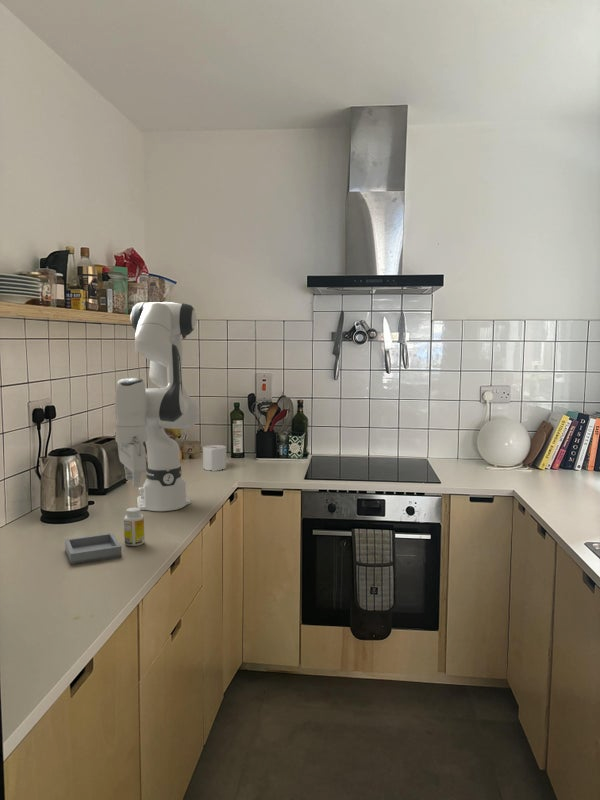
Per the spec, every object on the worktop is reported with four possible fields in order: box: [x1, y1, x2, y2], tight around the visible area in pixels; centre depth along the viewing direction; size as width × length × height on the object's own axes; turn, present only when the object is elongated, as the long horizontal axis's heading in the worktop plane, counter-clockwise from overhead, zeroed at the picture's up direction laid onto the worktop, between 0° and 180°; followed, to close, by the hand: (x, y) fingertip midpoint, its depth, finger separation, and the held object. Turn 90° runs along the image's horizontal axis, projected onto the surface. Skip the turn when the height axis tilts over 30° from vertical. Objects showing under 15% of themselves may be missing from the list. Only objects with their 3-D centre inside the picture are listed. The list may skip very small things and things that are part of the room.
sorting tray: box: [64, 532, 123, 566], centre depth 167 cm, size 13×13×3 cm
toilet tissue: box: [202, 444, 227, 472], centre depth 277 cm, size 11×12×10 cm
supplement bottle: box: [123, 507, 145, 547], centre depth 175 cm, size 6×6×10 cm
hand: (132, 482), depth 173 cm, fingers open, 8 cm apart
